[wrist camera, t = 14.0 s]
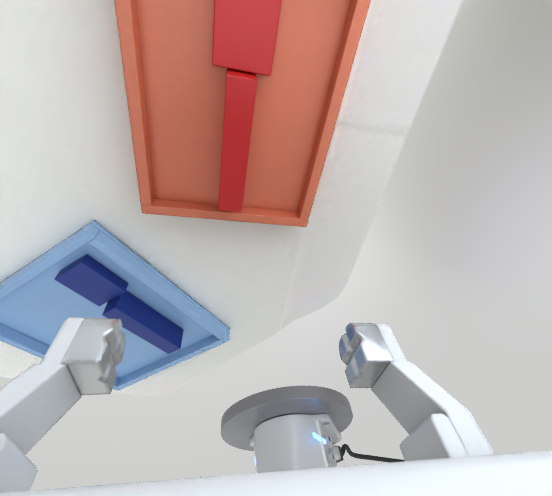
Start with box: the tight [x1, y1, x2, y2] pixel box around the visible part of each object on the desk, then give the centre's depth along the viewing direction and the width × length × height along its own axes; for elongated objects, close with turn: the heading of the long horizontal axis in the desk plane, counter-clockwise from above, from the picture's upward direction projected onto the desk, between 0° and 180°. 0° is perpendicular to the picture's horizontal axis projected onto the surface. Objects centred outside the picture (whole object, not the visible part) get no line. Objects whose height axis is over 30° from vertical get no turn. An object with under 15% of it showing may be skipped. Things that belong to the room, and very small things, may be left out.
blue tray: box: [0, 221, 230, 391], centre depth 32 cm, size 20×19×2 cm
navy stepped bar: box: [54, 254, 184, 354], centre depth 30 cm, size 14×4×3 cm, turn 30°
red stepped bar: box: [212, 0, 282, 212], centre depth 19 cm, size 14×4×3 cm, turn 170°
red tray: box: [115, 0, 371, 227], centre depth 20 cm, size 18×14×2 cm
